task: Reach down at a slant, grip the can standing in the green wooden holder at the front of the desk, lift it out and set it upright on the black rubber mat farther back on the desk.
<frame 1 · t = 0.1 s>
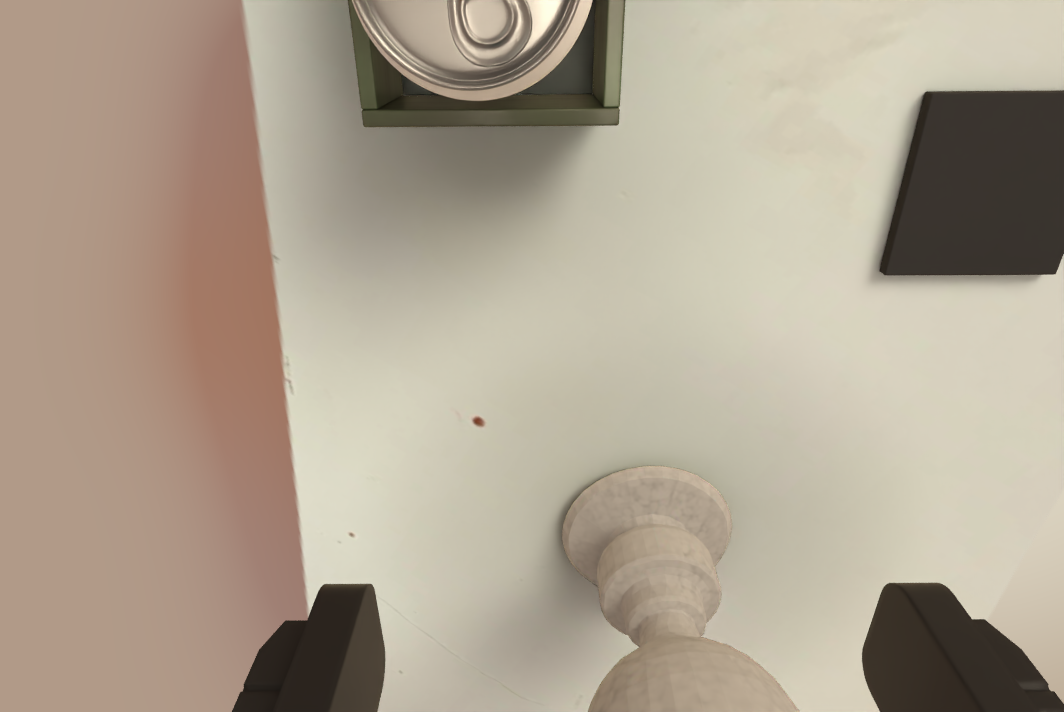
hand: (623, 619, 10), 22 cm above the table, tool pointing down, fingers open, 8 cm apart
mat: (989, 186, 29), on the table
table lamp: (644, 524, 38), on the table
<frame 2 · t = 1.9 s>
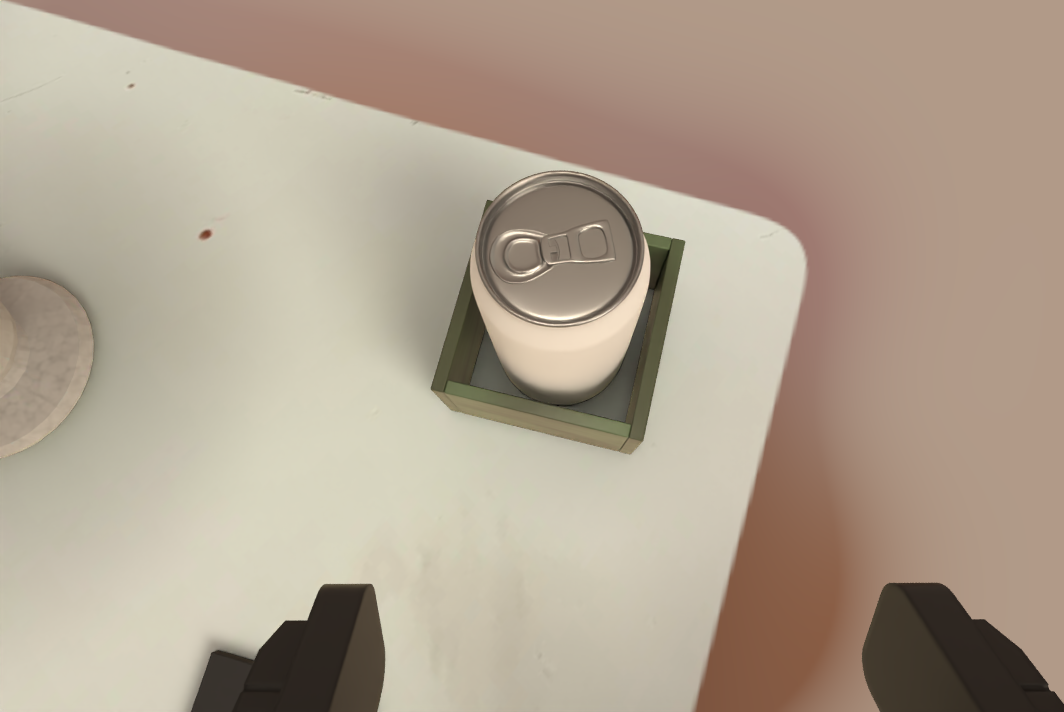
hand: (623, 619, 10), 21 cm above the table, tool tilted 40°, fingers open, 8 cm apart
caddy: (561, 344, 33), on the table
can: (561, 345, 33), resting in caddy
table lamp: (12, 368, 34), on the table
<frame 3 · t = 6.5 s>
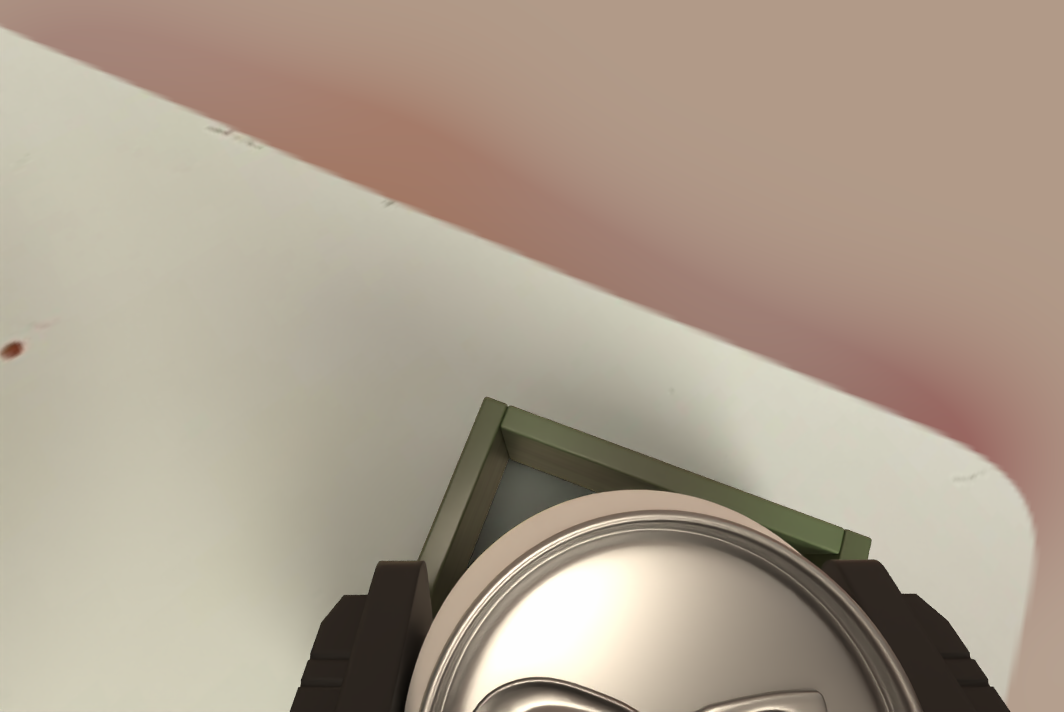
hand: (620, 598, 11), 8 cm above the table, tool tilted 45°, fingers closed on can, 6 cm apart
caddy: (589, 642, 18), on the table
can: (588, 641, 18), resting in caddy, touching gripper
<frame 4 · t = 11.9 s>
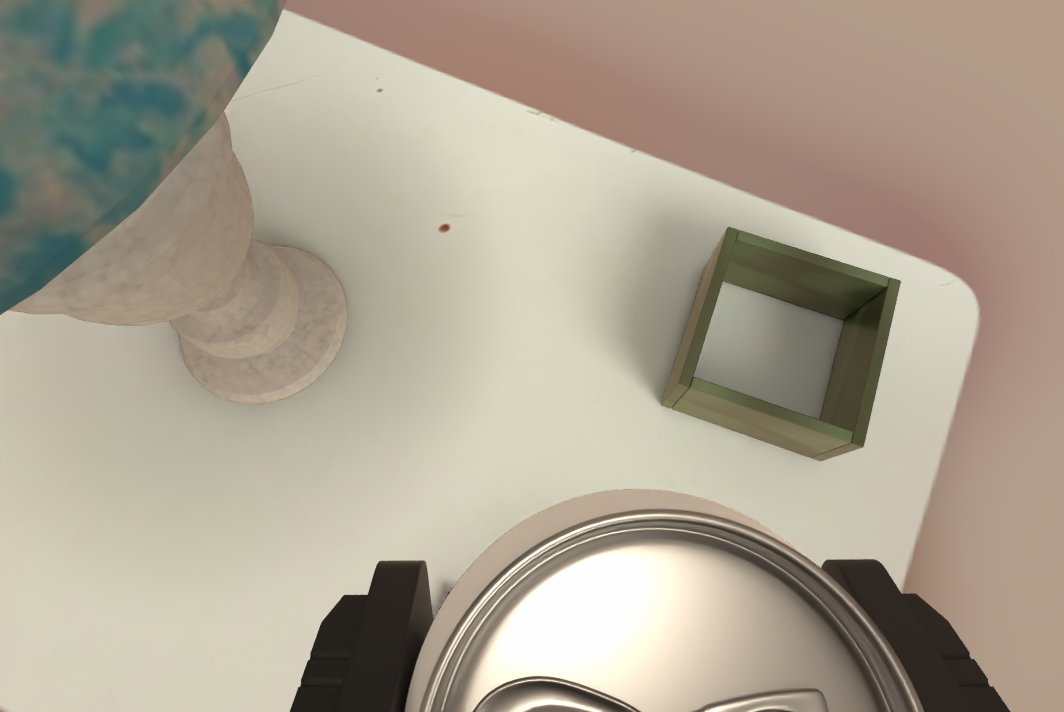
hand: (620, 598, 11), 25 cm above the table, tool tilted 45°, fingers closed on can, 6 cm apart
caddy: (760, 359, 37), on the table
can: (588, 640, 18), point 16 cm above the table, touching gripper
table lamp: (268, 326, 39), on the table
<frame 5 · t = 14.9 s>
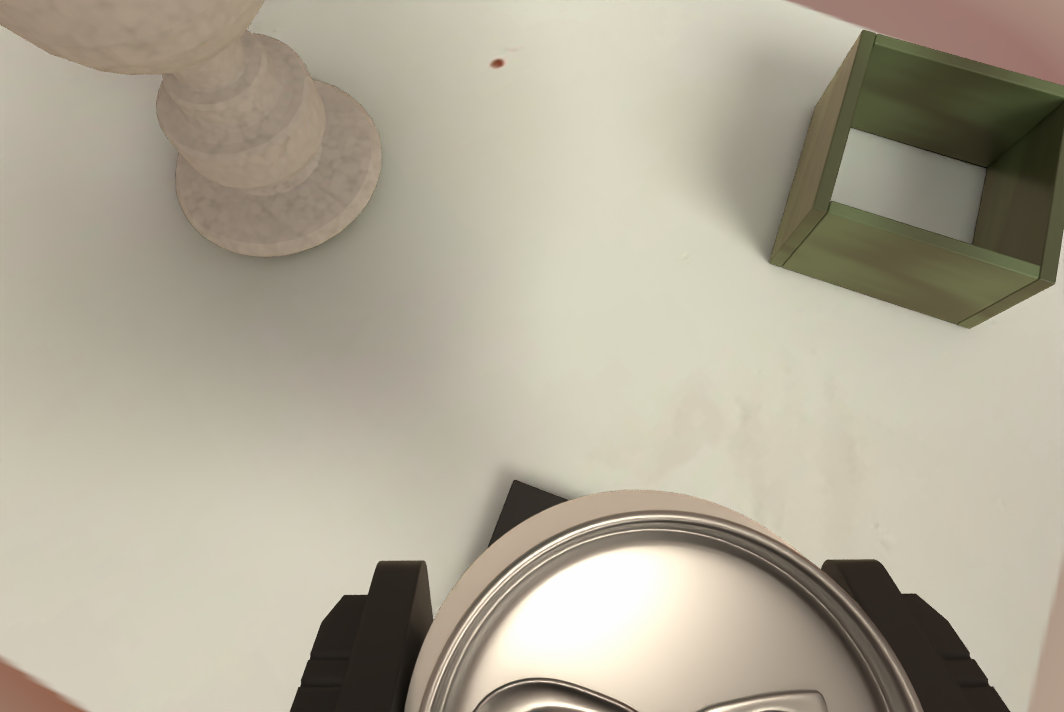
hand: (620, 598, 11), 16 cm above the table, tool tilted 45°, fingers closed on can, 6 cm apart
mat: (572, 613, 25), on the table
caddy: (887, 211, 30), on the table
can: (588, 641, 18), point 7 cm above the table, touching gripper
table lamp: (285, 172, 32), on the table
when the fingers open (9 cm above the table, at t = 17.4 s): can stays where it is, resting on mat.
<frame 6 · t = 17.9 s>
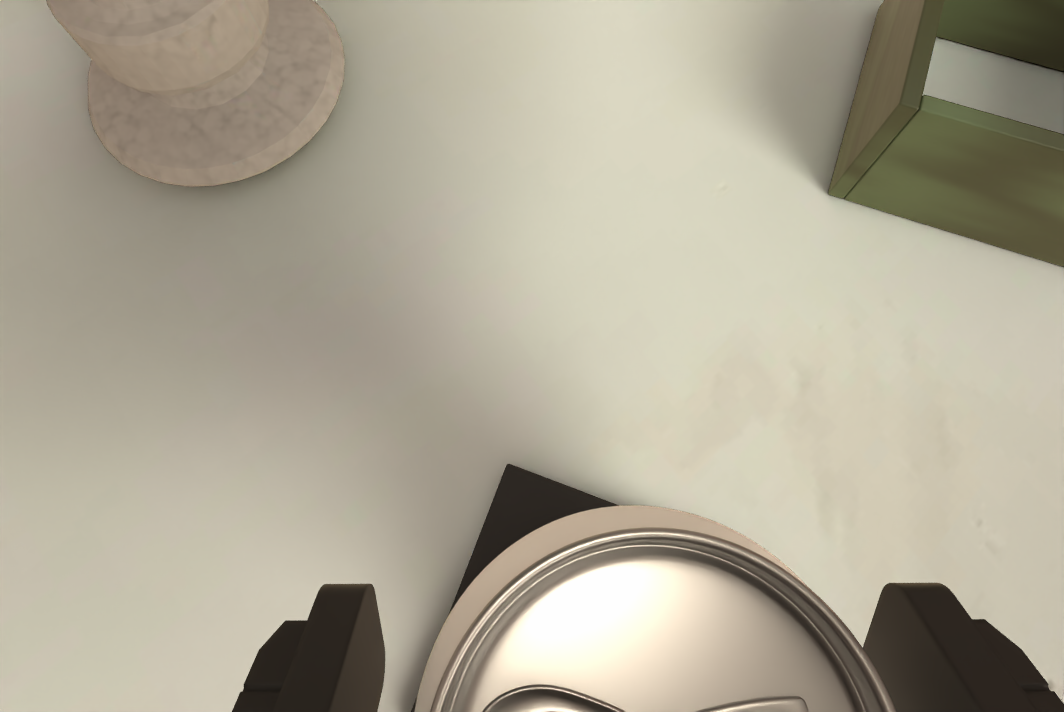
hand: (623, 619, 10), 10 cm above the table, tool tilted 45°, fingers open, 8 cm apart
mat: (583, 638, 19), on the table
caddy: (973, 132, 24), on the table
can: (588, 645, 19), resting on mat
table lamp: (226, 88, 26), on the table
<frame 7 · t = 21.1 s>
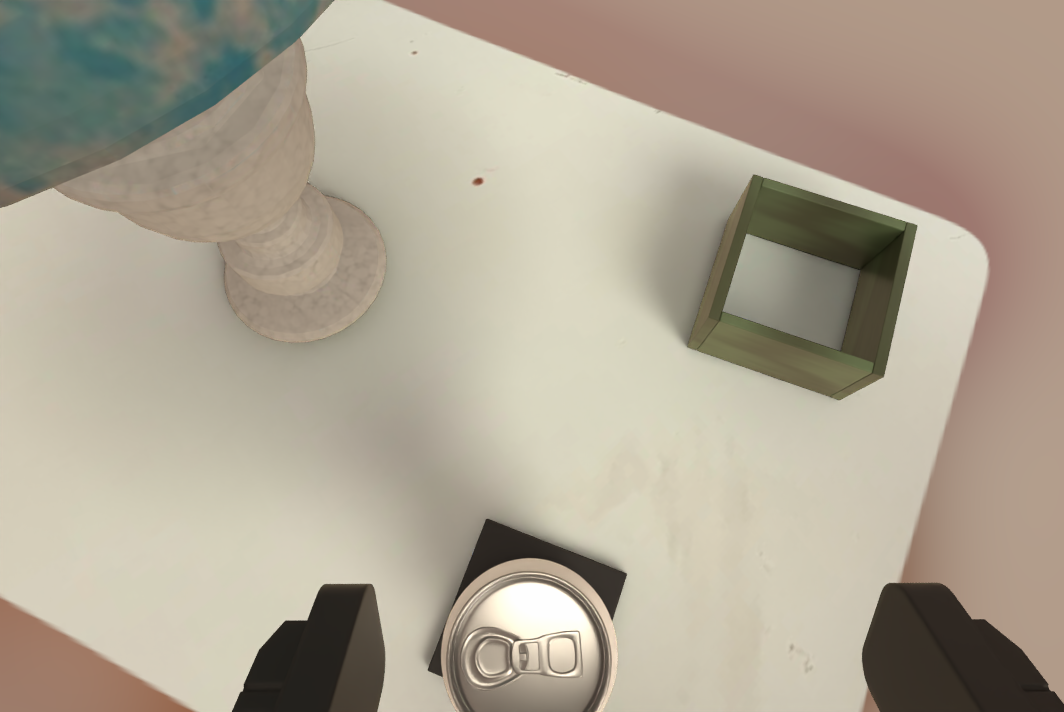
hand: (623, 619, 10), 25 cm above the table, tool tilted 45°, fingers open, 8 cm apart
mat: (529, 620, 34), on the table
caddy: (781, 305, 39), on the table
can: (531, 623, 33), resting on mat
table lamp: (309, 271, 40), on the table
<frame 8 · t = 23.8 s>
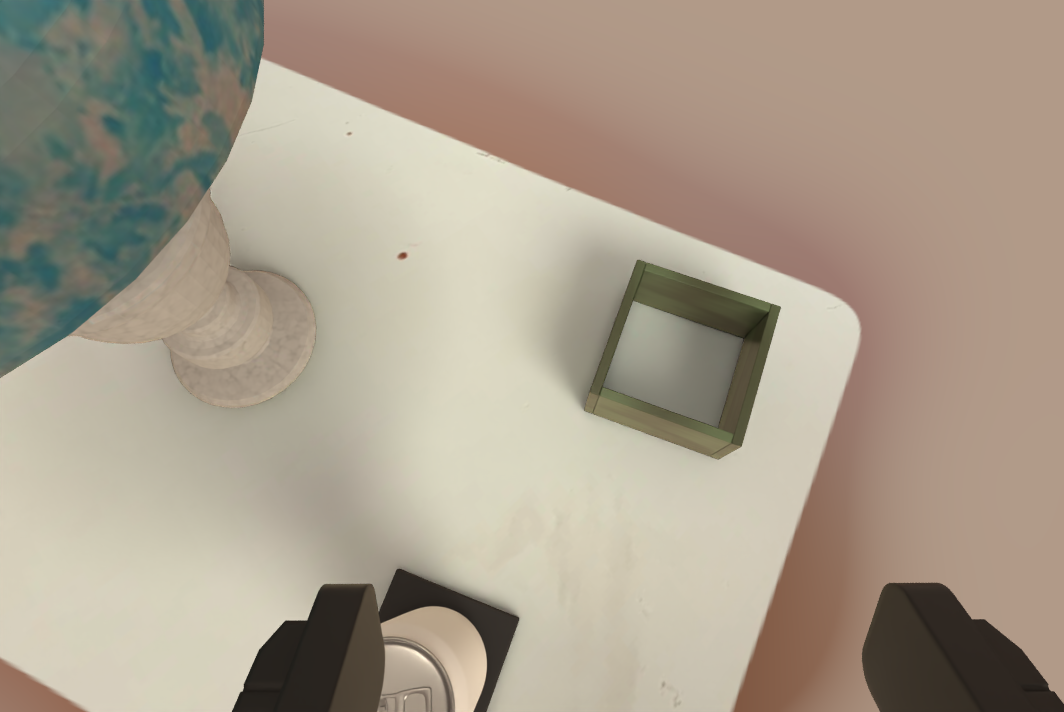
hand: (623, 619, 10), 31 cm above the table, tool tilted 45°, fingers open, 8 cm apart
mat: (432, 660, 38), on the table
caddy: (670, 371, 43), on the table
can: (433, 663, 38), resting on mat
table lamp: (248, 340, 45), on the table
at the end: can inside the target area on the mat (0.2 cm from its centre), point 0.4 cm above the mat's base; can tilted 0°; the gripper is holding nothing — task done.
